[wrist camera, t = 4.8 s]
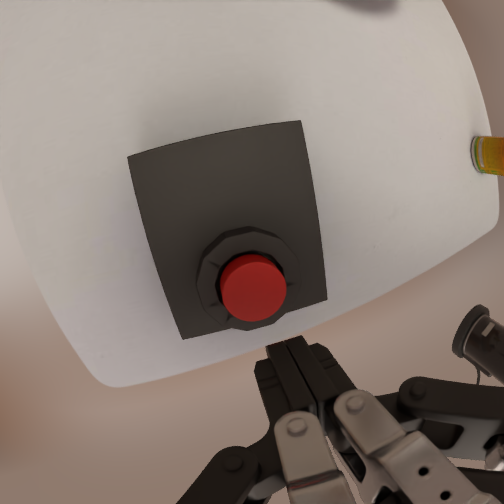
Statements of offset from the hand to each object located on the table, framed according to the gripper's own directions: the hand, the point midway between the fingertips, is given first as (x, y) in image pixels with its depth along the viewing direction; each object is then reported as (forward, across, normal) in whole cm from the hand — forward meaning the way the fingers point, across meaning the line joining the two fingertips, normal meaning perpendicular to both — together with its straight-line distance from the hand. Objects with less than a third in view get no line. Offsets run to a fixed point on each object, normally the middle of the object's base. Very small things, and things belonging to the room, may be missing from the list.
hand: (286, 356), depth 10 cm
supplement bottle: (+14, +36, +6) cm, 39 cm away
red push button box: (+14, 0, +3) cm, 14 cm away
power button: (+8, 0, 0) cm, 8 cm away
